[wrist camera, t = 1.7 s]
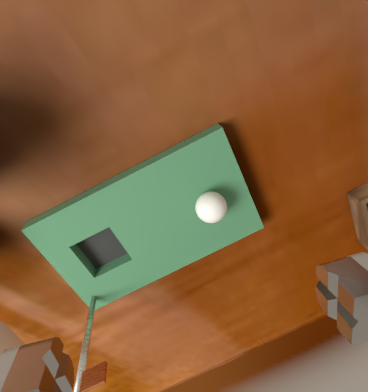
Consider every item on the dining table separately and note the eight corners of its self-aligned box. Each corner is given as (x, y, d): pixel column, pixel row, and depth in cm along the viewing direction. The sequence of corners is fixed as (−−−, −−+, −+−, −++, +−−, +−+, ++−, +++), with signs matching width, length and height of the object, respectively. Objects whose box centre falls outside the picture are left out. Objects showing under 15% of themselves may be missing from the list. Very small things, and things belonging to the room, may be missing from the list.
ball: (215, 181, 39) (223, 193, 35) (226, 205, 40) (235, 219, 37) (187, 195, 39) (193, 209, 35) (200, 218, 41) (206, 234, 37)
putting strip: (217, 123, 38) (222, 127, 36) (257, 219, 45) (264, 227, 43) (27, 220, 40) (21, 230, 37) (94, 299, 47) (92, 311, 44)
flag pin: (111, 286, 43) (102, 380, 30) (114, 290, 43) (106, 384, 31) (89, 297, 43) (71, 395, 31) (93, 301, 44) (76, 399, 31)
